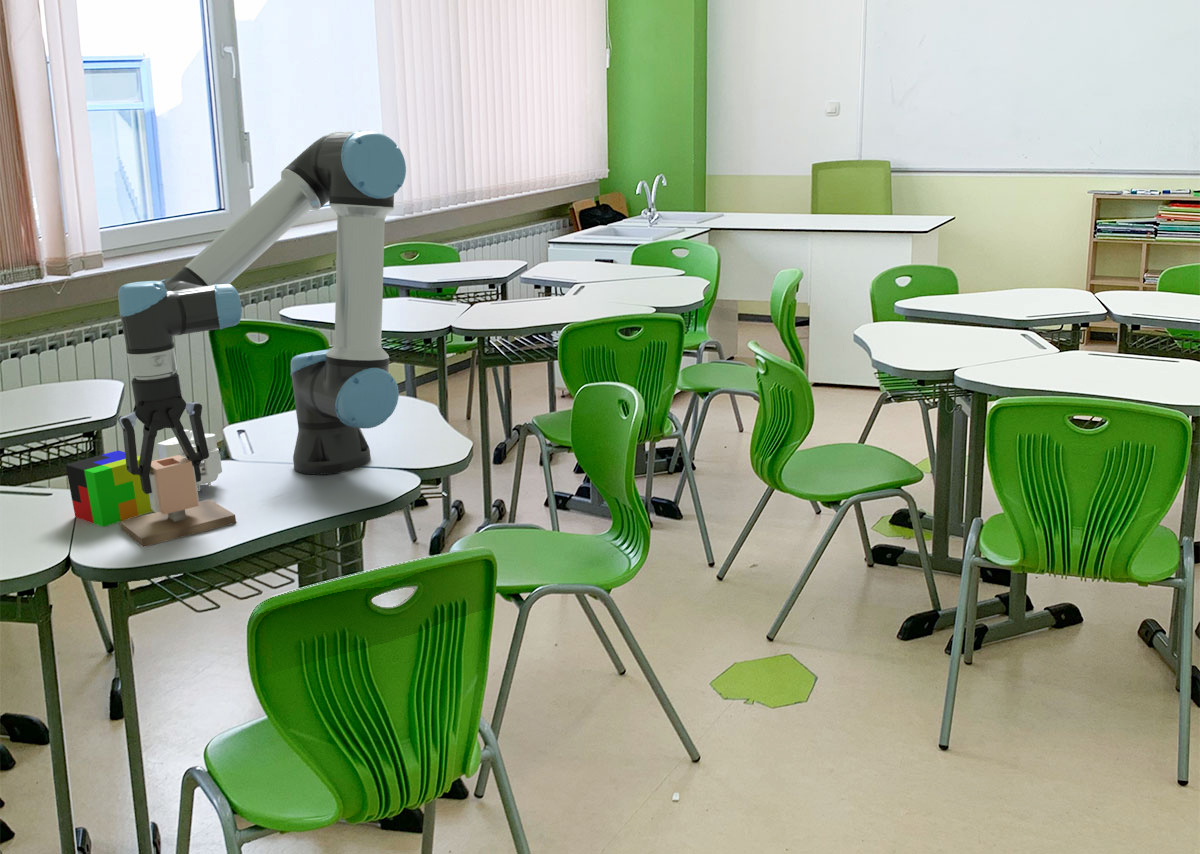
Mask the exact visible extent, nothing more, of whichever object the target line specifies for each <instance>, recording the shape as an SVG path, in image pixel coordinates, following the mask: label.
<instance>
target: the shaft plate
mask: <svg viewBox="0 0 1200 854" xmlns="http://www.w3.org/2000/svg"><path fill="white" fill-rule="evenodd" d="M232 524H233V525H234V524H237V519H236V514H235V513H233V512H231V511H230V510H228V509H227V508H225V507H224V506H223V505H220V504H219V503H217V502H215V501H214V500H212V499H206V500H201V501H199V502H198V506H197V507H193V508H189V509H185V510H181V511H176V512H172V513H168V514H164V515H163V514H162V513H161V512H153V513H152V512H151V513H150V514H149V513H147V514H143V515H139V516H136V517H133V518H130V519H127V520H124V521H120V522H119V526H120V530H121V531H122V532H123V533H125V535H127V536H128V537H129V538H131V539H132V540H133V541H135V542H136V543H137V544H138V545H139V546H141V547H142V548H145V547H149V546H153V545H157V544H161V543H165V542H168V541H173V540H177V539H179V538H183V537H186V536H190V535H195V534H198V533H203V532H206V531H210V530H214V529H218V528H221V527H226V526H230V525H232Z"/></svg>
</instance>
